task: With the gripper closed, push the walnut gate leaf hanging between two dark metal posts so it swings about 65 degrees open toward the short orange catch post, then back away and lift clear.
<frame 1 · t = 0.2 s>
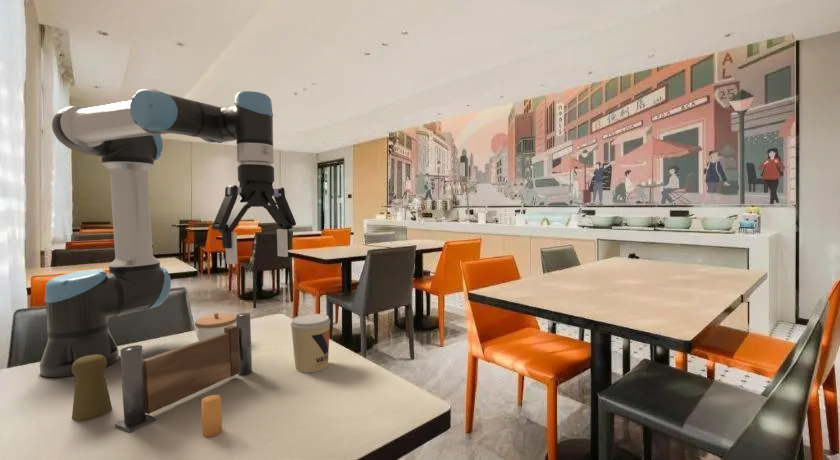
hand: (258, 259, 90), 27 cm above the table, fingers open, 13 cm apart
coffee cup: (311, 367, 99), on the table
gate frame: (135, 423, 73), on the table
gate leaf: (195, 365, 84), point 7 cm above the table, hinge at 0.0°
cork: (92, 413, 77), on the table
lidded jar: (217, 346, 115), on the table
catch post: (212, 432, 70), on the table
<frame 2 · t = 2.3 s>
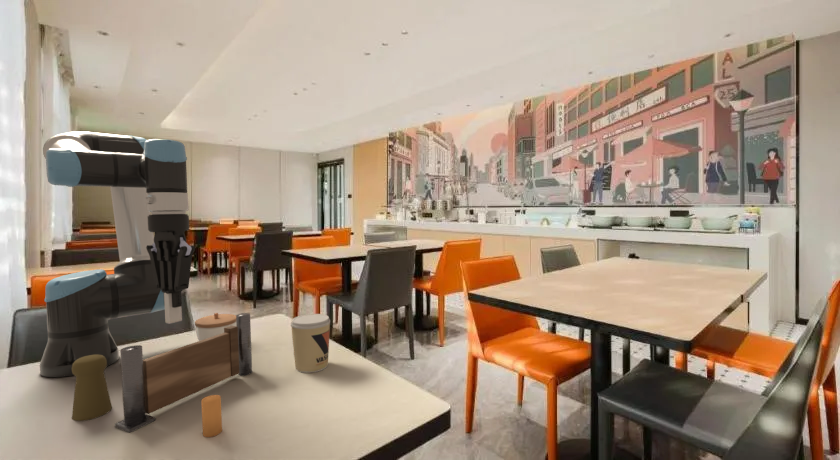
hand: (173, 321, 87), 15 cm above the table, fingers closed
nothing on the table moved.
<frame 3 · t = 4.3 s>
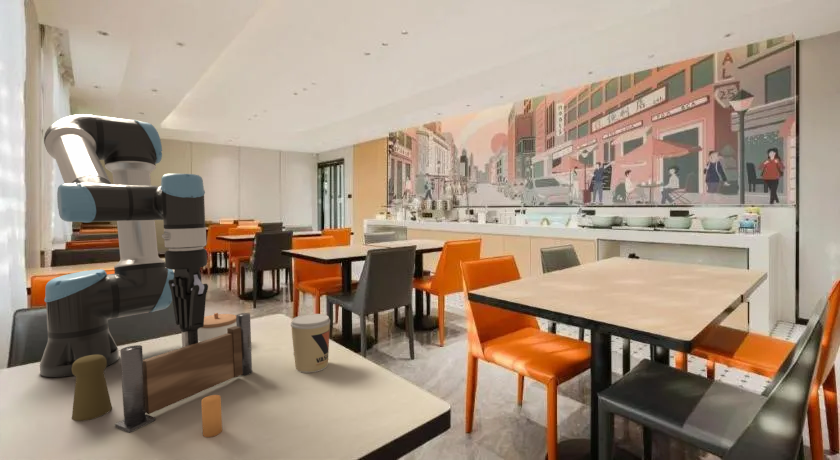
hand: (191, 359, 85), 7 cm above the table, fingers closed
gate leaf: (197, 365, 83), point 6 cm above the table, hinge at 3.0°, touching gripper
everything else where it was.
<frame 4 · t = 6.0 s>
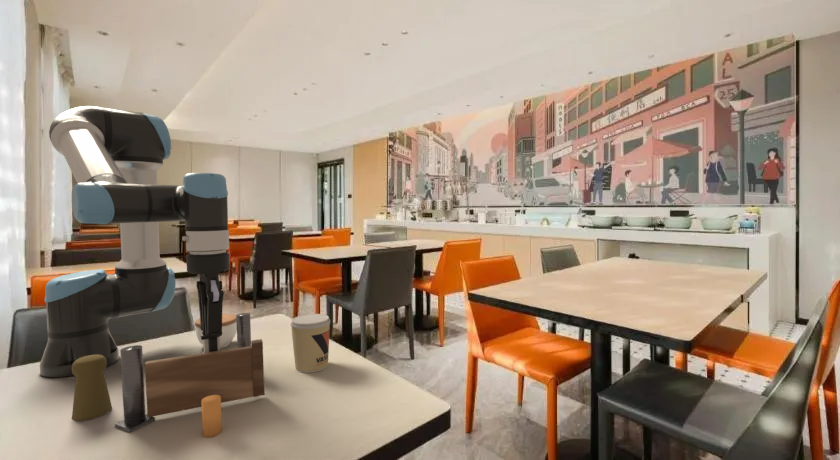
hand: (212, 368, 81), 7 cm above the table, fingers closed
gate leaf: (208, 376, 78), point 6 cm above the table, hinge at 39.1°, touching gripper
everything else where it was.
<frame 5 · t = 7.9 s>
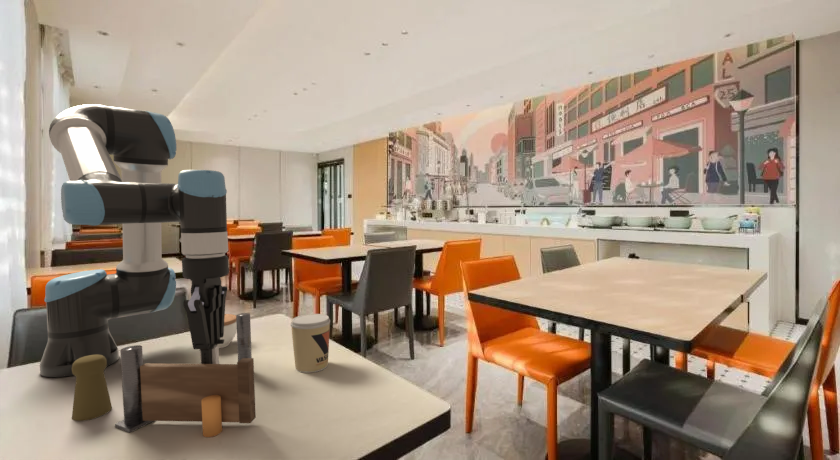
hand: (210, 380, 75), 7 cm above the table, fingers closed
gate leaf: (197, 389, 72), point 6 cm above the table, hinge at 67.6°, touching gripper
everything else where it was.
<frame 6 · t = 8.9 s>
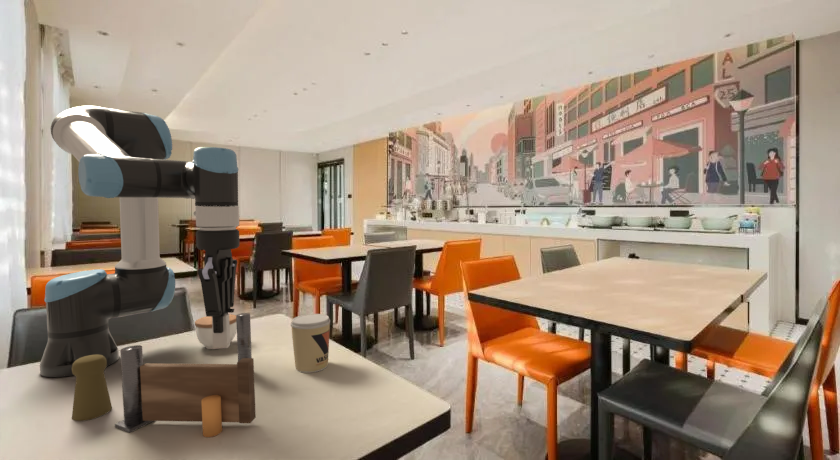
hand: (221, 346, 80), 12 cm above the table, fingers closed
gate leaf: (197, 389, 72), point 6 cm above the table, hinge at 67.6°
everything else where it was.
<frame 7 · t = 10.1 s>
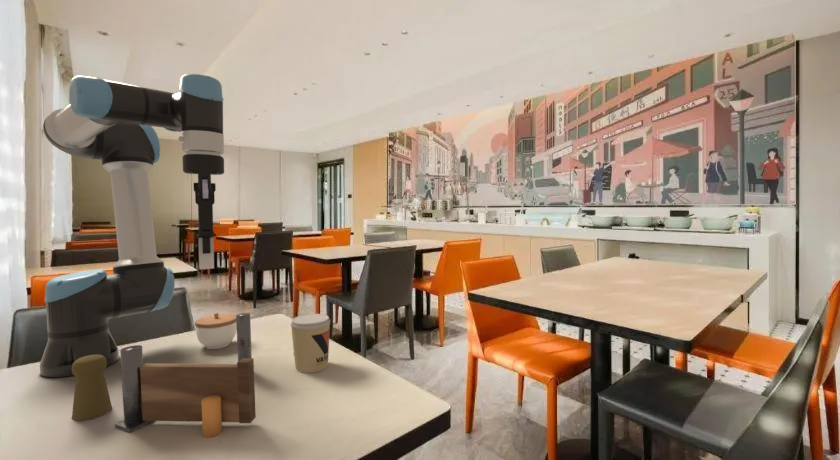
hand: (206, 268, 84), 27 cm above the table, fingers closed
nothing on the table moved.
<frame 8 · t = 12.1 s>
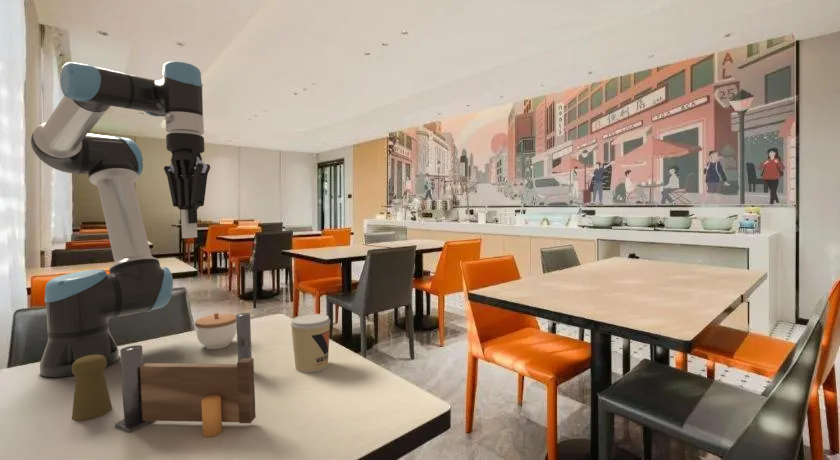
hand: (189, 237, 93), 32 cm above the table, fingers closed
nothing on the table moved.
at the end: gate leaf at +68° (first picture: +0°); coffee cup moved 0.2 cm from its start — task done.
